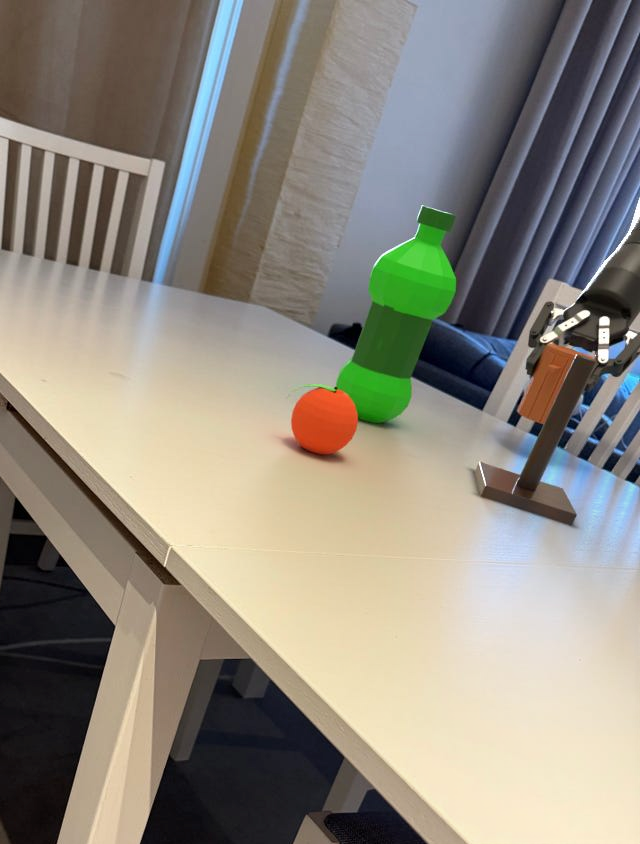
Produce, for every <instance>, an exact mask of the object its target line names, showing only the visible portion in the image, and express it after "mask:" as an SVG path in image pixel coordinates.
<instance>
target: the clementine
mask: <svg viewBox="0 0 640 844" xmlns="http://www.w3.org/2000/svg"><path fill="white" fill-rule="evenodd" d="M305 387H315V388H313V389H310V390H308V391H307V392H306V393H304V394H303V395H301V397H300V398H299V399H298V400H297V402H296V403H295V406H294V408H293V410H292V413H291V419H290V424H291V432H292V434H293V437H294V438H295V440H296V441H297V443H298V444H299V445H300V446H301V447H302V448H303V449H305V450H306V451H308V452H311V453H312V454H318V455H330V454H334V453H336V452H339V451H340V450H342V449H343V448H345V447H346V446H347V445H348V444H349V443H350V442H351V441H352V440H353V438H354V436H355V434H356V433H357V428H358V424H359V418H358V415H357V410H356V407H355V404H354V403H353V401H352V400H351V398H350V397H349V396H348V395H347V394H346V393H345V392H343V391H341V390H338V387H336V386H334V387H332V386H328V385H325V384H319V383H310V384H304V385H302V386H298V387H297V388H295V389H294V390H293V392H295V391H296V390H298V389H301V388H305ZM289 397H290V395H288V396H287V397H286V399H288V398H289Z"/></svg>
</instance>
